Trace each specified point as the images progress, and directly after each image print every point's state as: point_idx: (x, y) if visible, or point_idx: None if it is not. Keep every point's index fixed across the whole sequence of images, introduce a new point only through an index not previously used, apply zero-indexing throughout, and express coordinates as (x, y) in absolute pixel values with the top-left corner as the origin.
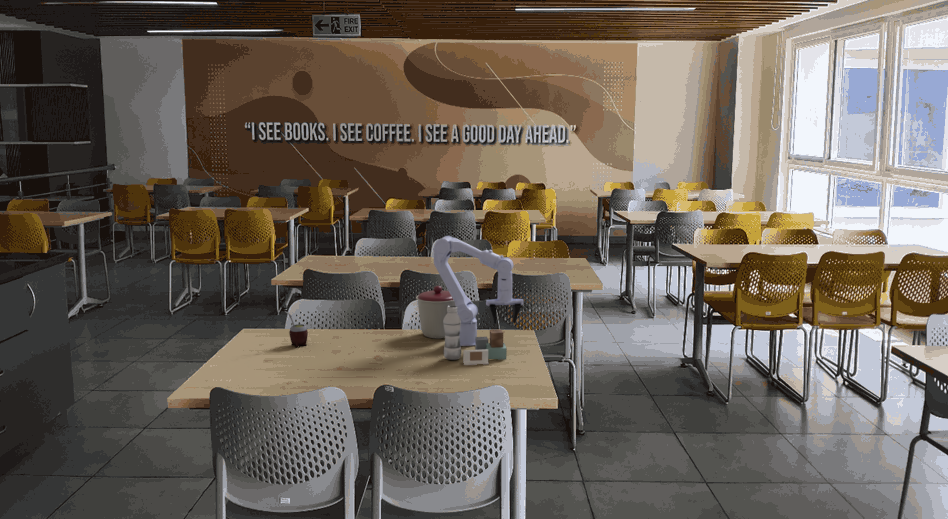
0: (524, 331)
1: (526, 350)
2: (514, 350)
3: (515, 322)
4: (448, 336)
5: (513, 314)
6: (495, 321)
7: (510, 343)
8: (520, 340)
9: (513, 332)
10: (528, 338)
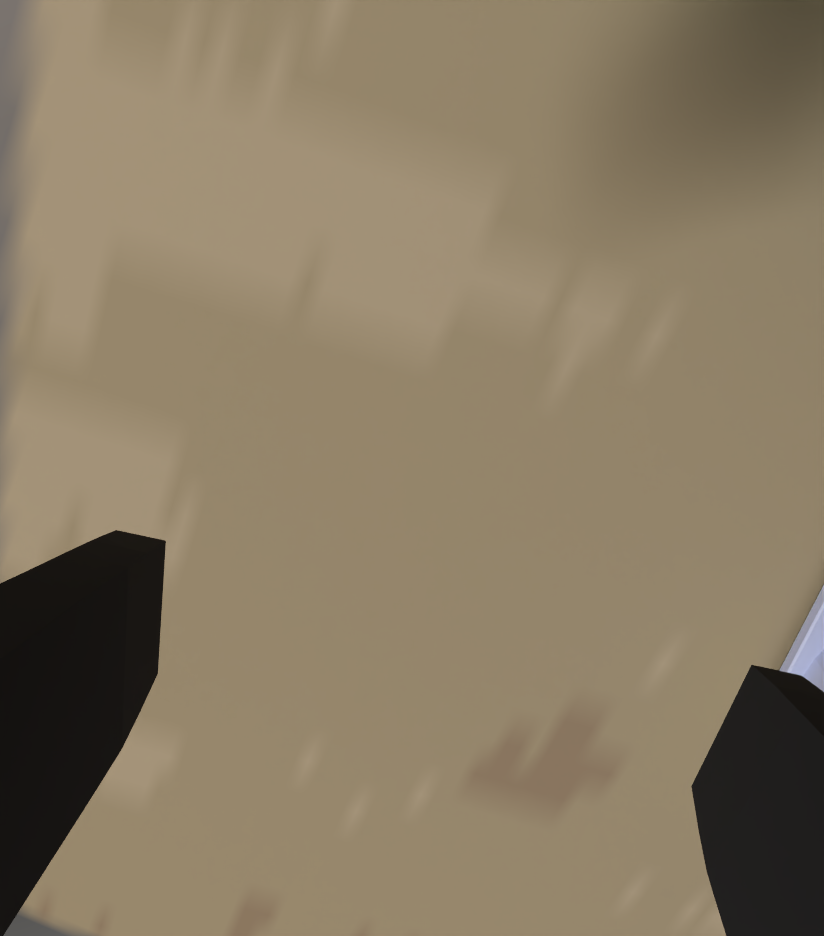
0: None
1: (169, 18)
2: (388, 93)
3: (99, 540)
4: None
5: (1, 889)
6: (822, 713)
7: (318, 500)
8: None
9: (142, 875)
10: None
